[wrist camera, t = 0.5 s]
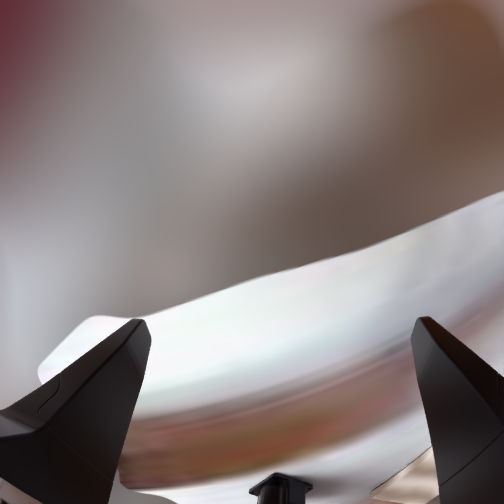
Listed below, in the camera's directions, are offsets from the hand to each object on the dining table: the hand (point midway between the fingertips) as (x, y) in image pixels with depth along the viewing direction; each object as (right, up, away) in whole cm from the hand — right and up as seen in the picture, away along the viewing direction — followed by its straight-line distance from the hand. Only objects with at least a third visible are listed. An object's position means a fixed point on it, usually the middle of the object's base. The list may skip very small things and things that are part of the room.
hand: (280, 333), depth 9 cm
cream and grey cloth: (+30, -31, +20) cm, 48 cm away
